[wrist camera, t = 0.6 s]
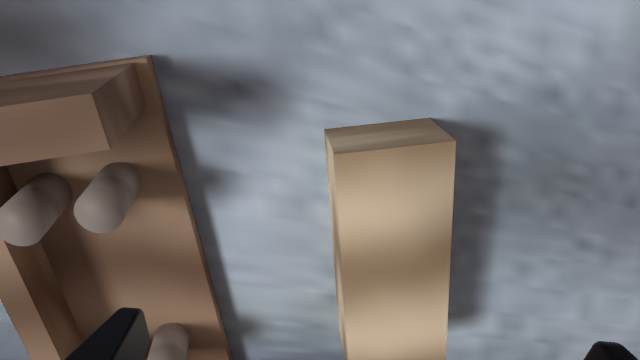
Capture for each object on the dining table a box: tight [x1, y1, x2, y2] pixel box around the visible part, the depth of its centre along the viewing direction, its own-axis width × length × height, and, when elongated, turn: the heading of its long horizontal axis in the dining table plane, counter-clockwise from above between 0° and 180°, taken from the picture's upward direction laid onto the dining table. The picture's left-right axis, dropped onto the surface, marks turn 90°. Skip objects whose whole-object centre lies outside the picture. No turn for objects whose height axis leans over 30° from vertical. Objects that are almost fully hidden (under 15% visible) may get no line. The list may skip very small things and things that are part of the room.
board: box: [324, 118, 456, 360], centre depth 23 cm, size 12×5×4 cm, turn 4°
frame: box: [0, 55, 233, 360], centre depth 20 cm, size 19×8×6 cm, turn 7°
